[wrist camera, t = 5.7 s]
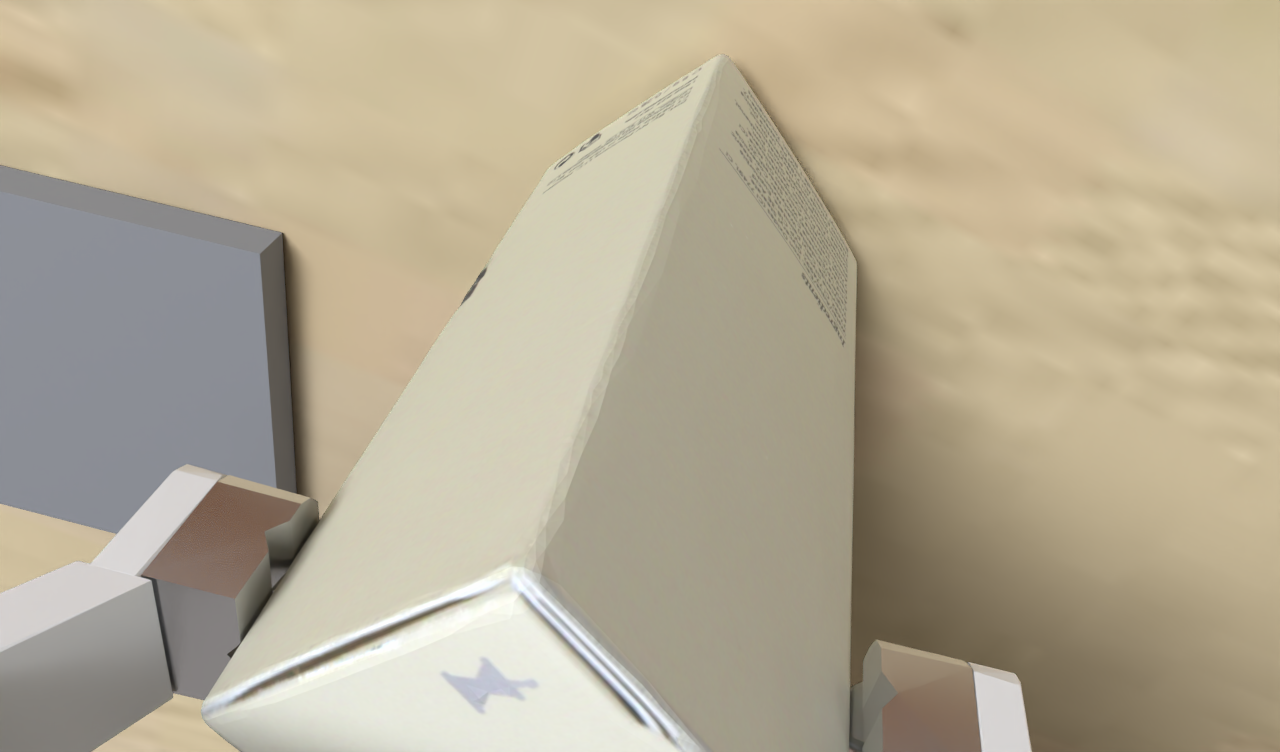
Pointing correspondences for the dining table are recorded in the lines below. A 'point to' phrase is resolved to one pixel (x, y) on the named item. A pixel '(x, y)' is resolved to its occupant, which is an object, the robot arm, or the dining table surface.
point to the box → (599, 478)
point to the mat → (134, 350)
